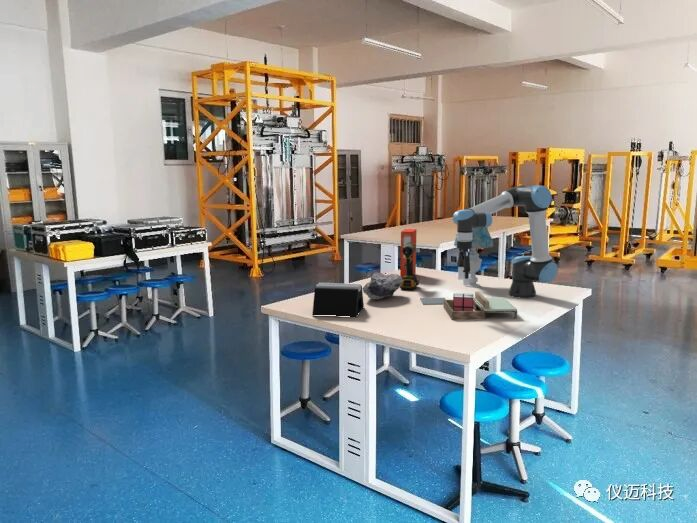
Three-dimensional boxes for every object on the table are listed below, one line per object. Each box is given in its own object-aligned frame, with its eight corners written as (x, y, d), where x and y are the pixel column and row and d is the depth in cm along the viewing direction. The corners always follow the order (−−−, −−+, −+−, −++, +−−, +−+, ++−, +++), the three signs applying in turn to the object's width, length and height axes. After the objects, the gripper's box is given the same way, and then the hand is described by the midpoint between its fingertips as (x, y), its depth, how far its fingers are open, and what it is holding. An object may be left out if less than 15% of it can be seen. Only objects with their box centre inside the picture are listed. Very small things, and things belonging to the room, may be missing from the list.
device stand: (355, 318, 283) (355, 289, 281) (312, 316, 288) (311, 288, 286) (363, 308, 305) (363, 280, 303) (323, 306, 310) (322, 279, 307)
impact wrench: (420, 285, 359) (421, 242, 355) (414, 292, 339) (415, 246, 335) (399, 284, 363) (400, 241, 359) (392, 291, 343) (392, 245, 339)
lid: (503, 298, 301) (503, 291, 301) (517, 310, 277) (517, 302, 276) (473, 299, 301) (473, 291, 301) (484, 310, 277) (484, 302, 276)
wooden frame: (503, 307, 302) (503, 299, 301) (516, 320, 277) (517, 311, 277) (443, 308, 302) (443, 299, 301) (451, 320, 278) (451, 311, 277)
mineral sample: (377, 292, 341) (377, 268, 338) (407, 295, 332) (407, 270, 330) (357, 302, 317) (357, 276, 314) (389, 305, 308) (389, 278, 306)
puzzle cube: (473, 317, 284) (473, 297, 282) (452, 316, 286) (453, 297, 284) (472, 312, 294) (473, 293, 292) (453, 311, 296) (453, 292, 294)
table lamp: (446, 287, 355) (447, 223, 348) (464, 281, 372) (466, 220, 366) (480, 292, 339) (482, 225, 333) (498, 285, 357) (500, 222, 350)
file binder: (416, 274, 397) (416, 229, 391) (412, 279, 380) (412, 231, 375) (404, 273, 399) (405, 228, 394) (400, 278, 382) (400, 231, 377)
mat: (444, 299, 322) (444, 297, 322) (448, 305, 309) (448, 303, 308) (420, 299, 323) (420, 297, 322) (423, 305, 309) (423, 303, 309)
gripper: (452, 237, 296) (451, 277, 300) (461, 243, 271) (460, 287, 275) (467, 237, 296) (465, 277, 299) (477, 243, 271) (476, 287, 275)
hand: (463, 282), depth 287 cm, fingers open, 13 cm apart
